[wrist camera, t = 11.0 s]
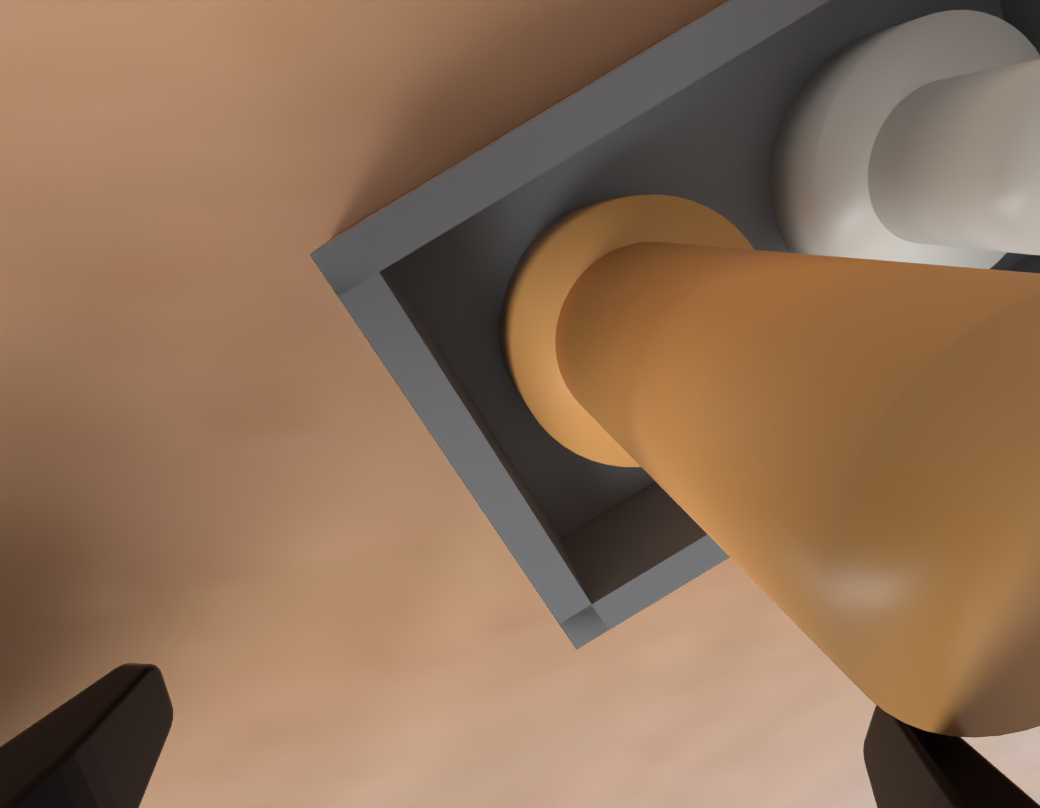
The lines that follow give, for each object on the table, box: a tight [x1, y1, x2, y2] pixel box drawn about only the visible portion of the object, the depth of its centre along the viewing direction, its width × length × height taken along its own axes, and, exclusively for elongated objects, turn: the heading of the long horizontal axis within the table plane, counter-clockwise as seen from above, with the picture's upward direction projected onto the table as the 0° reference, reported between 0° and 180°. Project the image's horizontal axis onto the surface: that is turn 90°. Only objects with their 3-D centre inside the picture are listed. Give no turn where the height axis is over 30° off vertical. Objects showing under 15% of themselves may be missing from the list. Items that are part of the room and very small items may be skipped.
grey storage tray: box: [310, 0, 1040, 649], centre depth 17 cm, size 20×12×7 cm, turn 120°
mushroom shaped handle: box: [500, 194, 1040, 737], centre depth 13 cm, size 7×7×13 cm
